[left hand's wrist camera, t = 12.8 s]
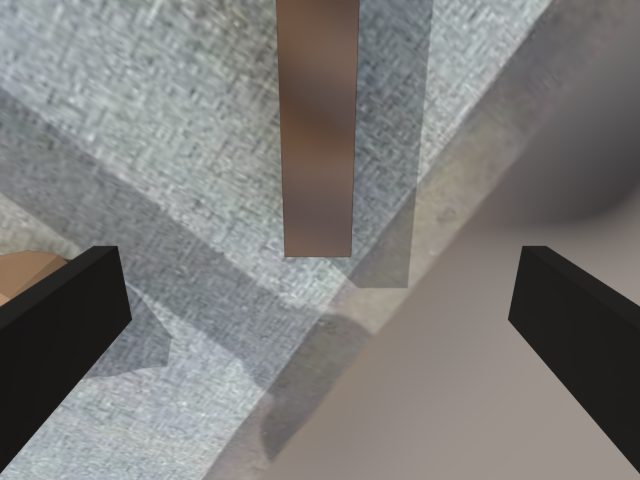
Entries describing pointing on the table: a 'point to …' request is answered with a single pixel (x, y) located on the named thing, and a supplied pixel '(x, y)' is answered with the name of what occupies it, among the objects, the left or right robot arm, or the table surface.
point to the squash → (25, 271)
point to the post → (317, 123)
